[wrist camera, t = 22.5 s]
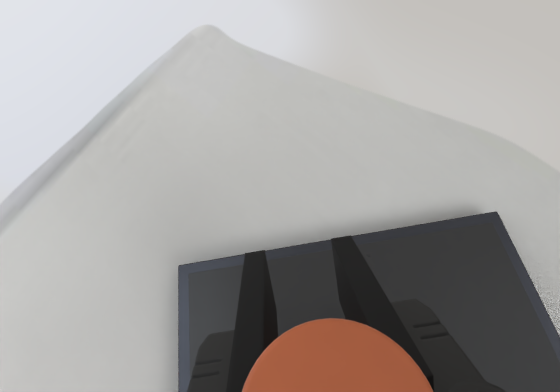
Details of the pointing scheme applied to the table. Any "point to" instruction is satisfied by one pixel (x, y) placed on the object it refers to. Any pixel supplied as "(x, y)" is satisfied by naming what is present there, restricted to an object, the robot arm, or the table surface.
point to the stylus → (335, 361)
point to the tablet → (398, 295)
